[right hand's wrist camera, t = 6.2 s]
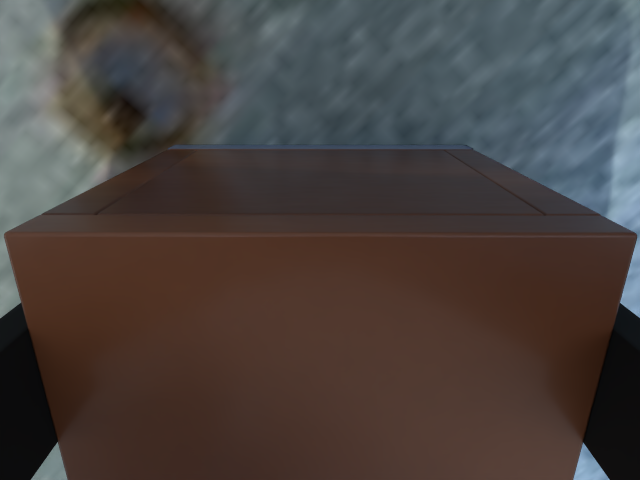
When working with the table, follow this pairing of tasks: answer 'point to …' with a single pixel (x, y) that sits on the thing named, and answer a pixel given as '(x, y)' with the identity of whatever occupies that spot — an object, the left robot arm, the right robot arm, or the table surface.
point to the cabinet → (320, 316)
